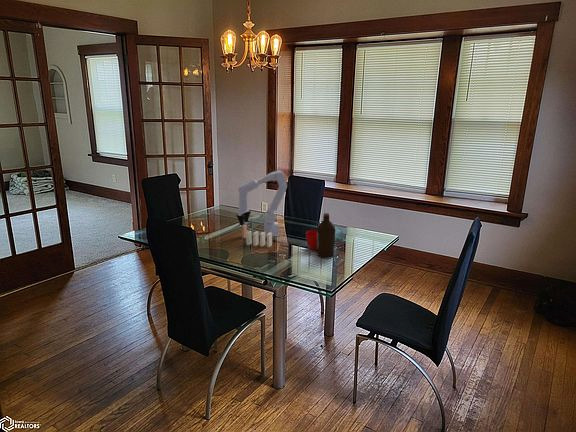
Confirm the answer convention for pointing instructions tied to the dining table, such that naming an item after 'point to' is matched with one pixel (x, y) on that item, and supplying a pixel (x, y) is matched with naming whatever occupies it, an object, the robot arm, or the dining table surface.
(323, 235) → the olive oil
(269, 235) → the ivory domino
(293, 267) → the dining table surface
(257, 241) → the ivory domino
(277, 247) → the dining table surface
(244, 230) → the terracotta domino
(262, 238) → the ivory domino
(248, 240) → the ivory domino
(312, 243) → the ceramic cup
